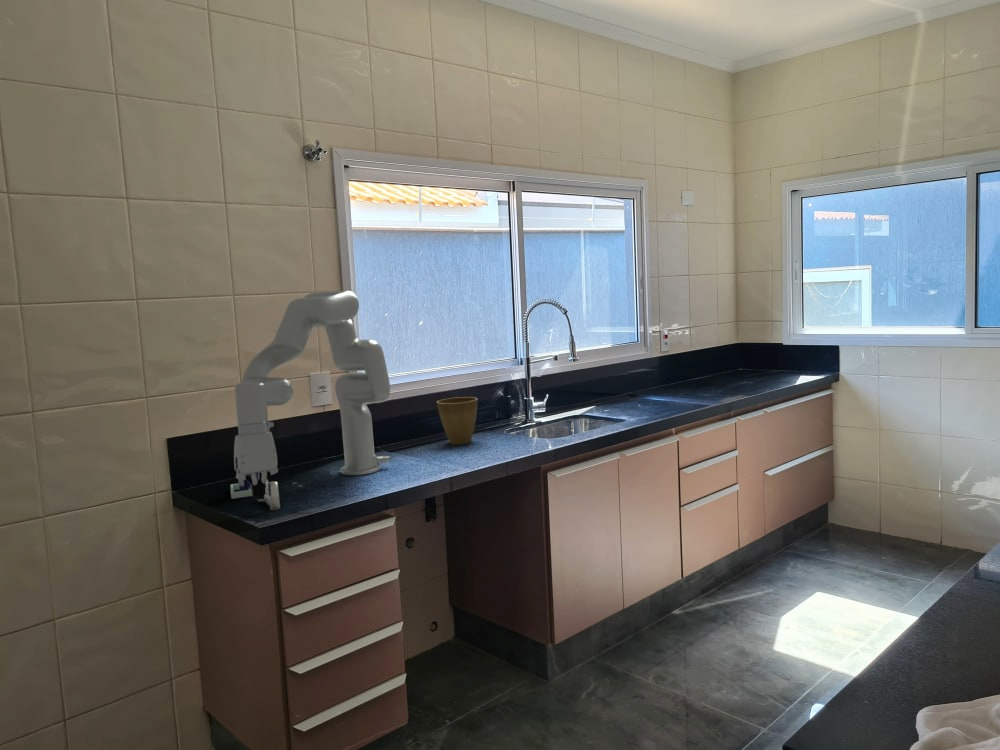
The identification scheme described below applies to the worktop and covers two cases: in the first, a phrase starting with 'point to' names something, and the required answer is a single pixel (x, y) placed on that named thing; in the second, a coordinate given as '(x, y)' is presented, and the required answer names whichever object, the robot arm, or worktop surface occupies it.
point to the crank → (272, 496)
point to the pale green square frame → (242, 493)
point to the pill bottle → (246, 484)
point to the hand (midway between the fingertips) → (259, 498)
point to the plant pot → (458, 418)
